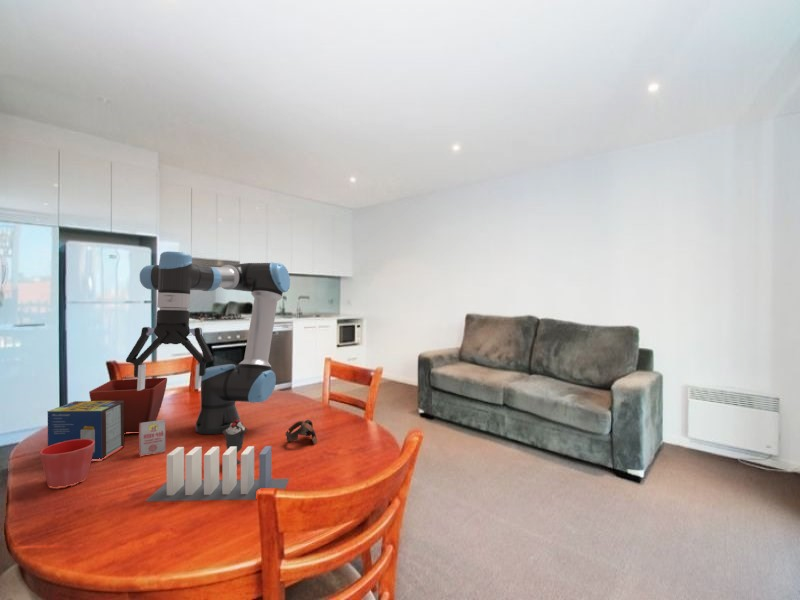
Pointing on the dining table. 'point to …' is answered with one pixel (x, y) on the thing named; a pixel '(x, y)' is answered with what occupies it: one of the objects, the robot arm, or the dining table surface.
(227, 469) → the domino
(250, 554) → the dining table surface
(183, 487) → the runner mat
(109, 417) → the protein box
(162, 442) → the tea bag
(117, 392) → the plant pot
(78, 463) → the flower pot
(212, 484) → the domino
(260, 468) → the domino
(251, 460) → the domino
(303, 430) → the brown ring with handle
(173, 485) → the domino
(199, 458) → the domino
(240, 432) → the sundae
